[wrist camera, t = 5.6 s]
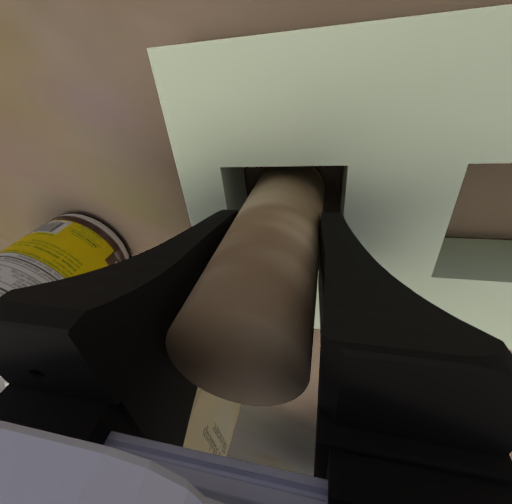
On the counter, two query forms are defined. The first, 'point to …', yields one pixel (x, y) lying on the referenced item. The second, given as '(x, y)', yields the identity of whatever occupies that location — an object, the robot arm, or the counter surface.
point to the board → (360, 136)
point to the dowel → (257, 296)
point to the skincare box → (211, 424)
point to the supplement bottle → (58, 253)
